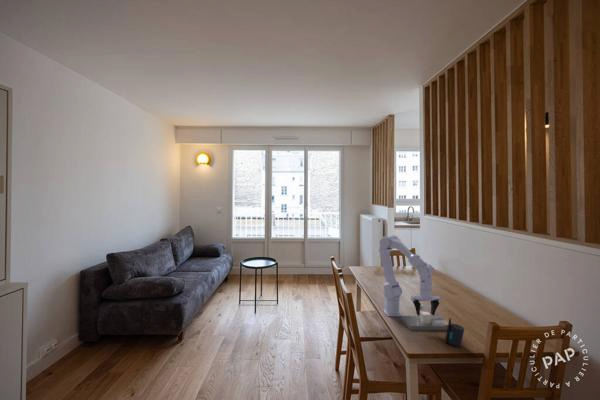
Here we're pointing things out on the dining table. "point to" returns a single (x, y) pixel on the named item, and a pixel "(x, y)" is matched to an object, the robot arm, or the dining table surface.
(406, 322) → the power strip
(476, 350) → the dining table surface
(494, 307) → the dining table surface
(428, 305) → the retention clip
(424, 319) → the plug
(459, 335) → the speaker
